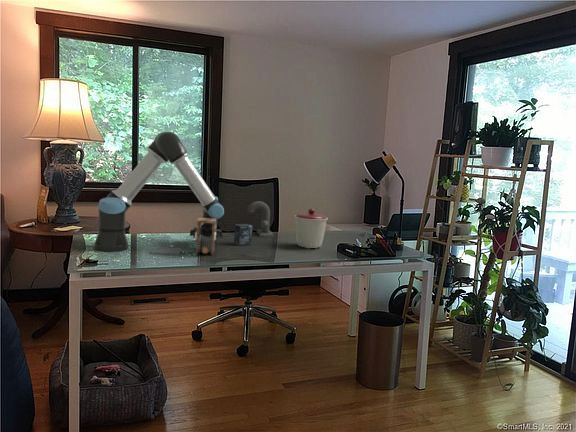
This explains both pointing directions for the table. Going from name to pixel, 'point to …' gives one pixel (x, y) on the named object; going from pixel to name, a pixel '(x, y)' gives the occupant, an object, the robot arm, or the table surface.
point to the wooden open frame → (199, 221)
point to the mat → (166, 251)
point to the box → (243, 234)
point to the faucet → (265, 219)
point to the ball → (205, 250)
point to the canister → (310, 229)
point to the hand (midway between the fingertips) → (205, 236)
